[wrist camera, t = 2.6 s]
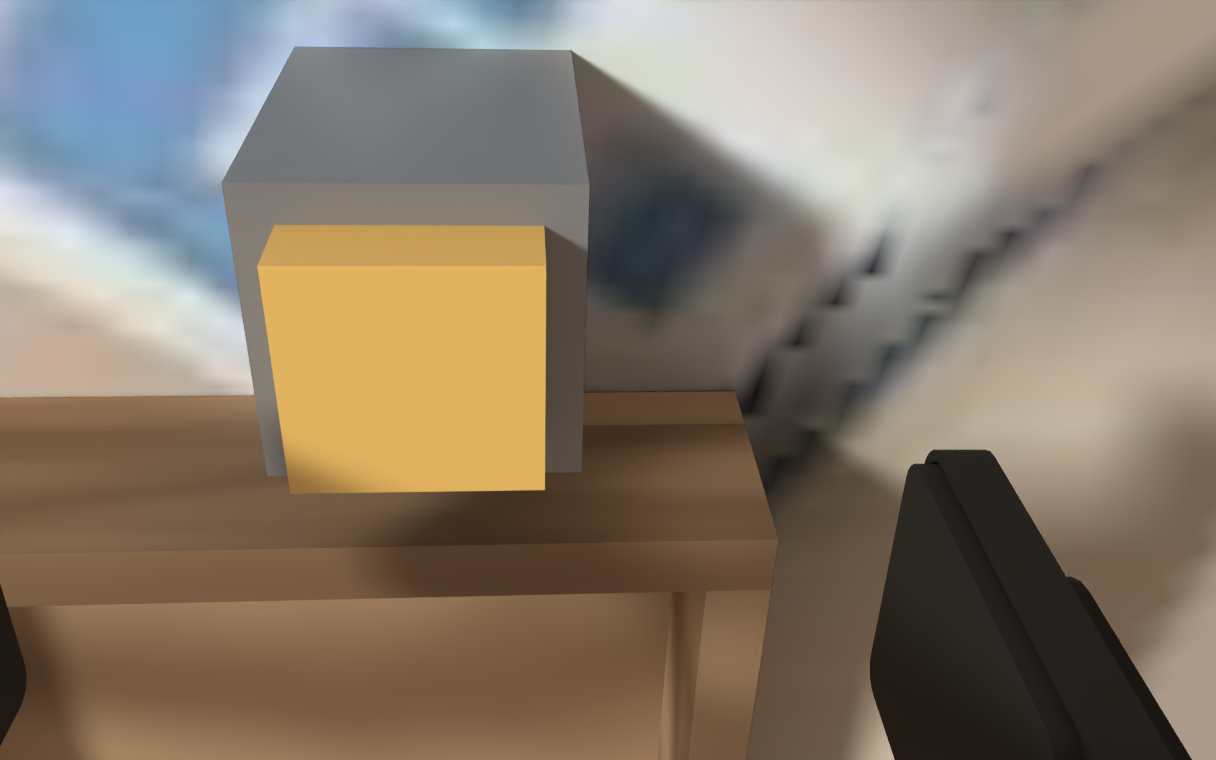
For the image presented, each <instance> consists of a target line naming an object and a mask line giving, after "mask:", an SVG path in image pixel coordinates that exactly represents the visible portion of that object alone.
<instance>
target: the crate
mask: <svg viewBox="0 0 1216 760" xmlns="http://www.w3.org/2000/svg"><path fill="white" fill-rule="evenodd" d="M778 540H779V539H778V536H777V532H776V529H775V525H774V522H773V519H772V515H771V512H770V508H769V505H768V502H767V498H766V495H765V491H764V488H763V485H762V481H761V478H760V474H759V471H758V468H757V464H756V461H755V457H754V454H753V451H752V447H751V444H750V440H749V437H748V434H747V430H746V427H745V423H744V420H743V417H742V413H741V410H740V406H739V403H738V400H737V396H736V393H735V391H711V392H603V393H584V402H583V439H582V472H560V473H545V490H513V491H446V492H379V493H313V494H290V489H289V482H288V476H271V477H267V471H266V464H265V458H264V451H263V445H262V439H261V432H260V426H259V419H258V413H257V407H256V400H255V396H172V397H64V398H0V584H1V588H2V591H3V594H4V598H5V601H6V604H7V607H8V611H9V614H10V617H11V621H12V624H13V627H14V630H15V634H16V637H17V640H18V643H19V647H20V650H21V653H22V657H23V660H24V663H25V667H26V674H27V683H26V691H25V695H24V699H23V702H22V704H21V707H20V709H19V711H18V713H17V715H16V717H15V719H14V721H13V722H12V724H11V726H10V728H9V730H8V732H7V734H6V736H5V738H4V740H3V742H2V744H1V746H0V760H746V757H747V750H748V744H749V737H750V730H751V723H752V716H753V710H754V703H755V696H756V689H757V682H758V676H759V669H760V662H761V655H762V648H763V642H764V635H765V628H766V621H767V615H768V608H769V601H770V594H771V587H772V581H773V574H774V567H775V560H776V553H777V547H778Z"/></svg>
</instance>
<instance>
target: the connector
mask: <svg viewBox="0 0 1216 760" xmlns="http://www.w3.org/2000/svg"><path fill="white" fill-rule="evenodd" d="M222 189H223V195H224V201H225V208H226V214H227V221H228V227H229V233H230V240H231V246H232V253H233V259H234V266H235V272H236V278H237V285H238V291H239V298H240V304H241V310H242V317H243V323H244V330H245V336H246V342H247V349H248V355H249V362H250V368H251V374H252V381H253V387H254V394H255V400H256V407H257V413H258V419H259V426H260V432H261V439H262V445H263V451H264V458H265V464H266V471H267V477H271V476H288V482H289V489H290V494H313V493H379V492H446V491H513V490H545V473H560V472H582V439H583V402H584V366H585V330H586V293H587V257H588V221H589V177H588V170H587V163H586V156H585V148H584V141H583V134H582V126H581V119H580V112H579V105H578V97H577V90H576V83H575V75H574V68H573V61H572V54H571V50H508V49H435V48H362V47H294V49H293V51H292V53H291V54H290V56H289V58H288V60H287V62H286V64H285V66H284V68H283V69H282V71H281V73H280V75H279V77H278V79H277V81H276V82H275V84H274V86H273V88H272V90H271V92H270V94H269V95H268V97H267V99H266V101H265V103H264V105H263V107H262V109H261V110H260V112H259V114H258V116H257V118H256V120H255V122H254V123H253V125H252V127H251V129H250V131H249V133H248V135H247V136H246V138H245V140H244V142H243V144H242V146H241V148H240V149H239V151H238V153H237V155H236V157H235V159H234V161H233V163H232V164H231V166H230V168H229V170H228V172H227V174H226V176H225V177H224V179H223V181H222Z"/></svg>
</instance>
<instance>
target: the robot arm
mask: <svg viewBox="0 0 1216 760" xmlns="http://www.w3.org/2000/svg"><path fill="white" fill-rule="evenodd" d="M870 680H871V686H872V691H873V695H874V698H875V701H876V704H877V707H878V710H879V713H880V716H881V719H882V722H883V725H884V728H885V731H886V735H887V738H888V741H889V744H890V747H891V750H892V753H893V756H894V759H895V760H1192V759H1191V758H1190V756H1189V754H1188V753H1187V751H1186V749H1185V748H1184V746H1183V744H1182V743H1181V741H1180V740H1179V738H1178V736H1177V735H1176V733H1175V731H1174V730H1173V728H1172V726H1171V725H1170V723H1169V721H1168V720H1167V718H1166V716H1165V715H1164V713H1163V712H1162V710H1161V709H1160V707H1159V705H1158V703H1157V702H1156V700H1155V698H1154V697H1153V695H1152V694H1151V692H1150V690H1149V689H1148V687H1147V685H1146V684H1145V682H1144V680H1143V679H1142V677H1141V676H1140V674H1139V672H1138V671H1137V669H1136V667H1135V666H1134V664H1133V662H1132V661H1131V659H1130V657H1129V656H1128V654H1127V653H1126V651H1125V649H1124V648H1123V646H1122V644H1121V643H1120V641H1119V639H1118V638H1117V636H1116V635H1115V633H1114V631H1113V630H1112V628H1111V626H1110V625H1109V623H1108V621H1107V620H1106V618H1105V617H1104V615H1103V613H1102V612H1101V610H1100V608H1099V607H1098V605H1097V603H1096V602H1095V600H1094V599H1093V597H1092V595H1091V594H1090V592H1089V591H1088V590H1087V588H1086V587H1085V586H1084V585H1083V584H1082V582H1081V581H1079V580H1077V579H1075V578H1073V577H1066V576H1065V574H1064V573H1063V571H1062V569H1061V568H1060V566H1059V564H1058V562H1057V561H1056V559H1055V557H1054V556H1053V554H1052V552H1051V551H1050V549H1049V547H1048V546H1047V544H1046V542H1045V541H1044V539H1043V537H1042V536H1041V534H1040V532H1039V531H1038V529H1037V527H1036V525H1035V524H1034V522H1033V520H1032V519H1031V517H1030V515H1029V514H1028V512H1027V510H1026V509H1025V507H1024V505H1023V504H1022V502H1021V500H1020V499H1019V497H1018V495H1017V493H1016V492H1015V490H1014V488H1013V487H1012V485H1011V483H1010V482H1009V480H1008V478H1007V477H1006V475H1005V473H1004V472H1003V470H1002V468H1001V467H1000V465H999V463H998V462H997V460H996V458H995V457H994V455H993V454H992V453H991V452H990V451H987V450H933V451H931V452H930V453H929V454H928V456H927V458H926V460H925V464H913V465H911V467H910V468H909V470H908V473H907V477H906V482H905V487H904V492H903V497H902V502H901V507H900V512H899V517H898V522H897V527H896V532H895V537H894V542H893V547H892V552H891V557H890V562H889V567H888V572H887V577H886V582H885V587H884V592H883V598H882V603H881V608H880V613H879V618H878V623H877V628H876V633H875V638H874V643H873V648H872V653H871V659H870ZM26 683H27V674H26V667H25V663H24V660H23V657H22V653H21V650H20V647H19V643H18V640H17V637H16V634H15V630H14V627H13V624H12V621H11V617H10V614H9V611H8V607H7V604H6V601H5V598H4V594H3V591H2V588H1V584H0V746H1V744H2V742H3V740H4V738H5V736H6V734H7V732H8V730H9V728H10V726H11V724H12V722H13V721H14V719H15V717H16V715H17V713H18V711H19V709H20V707H21V704H22V702H23V699H24V695H25V691H26Z"/></svg>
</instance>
